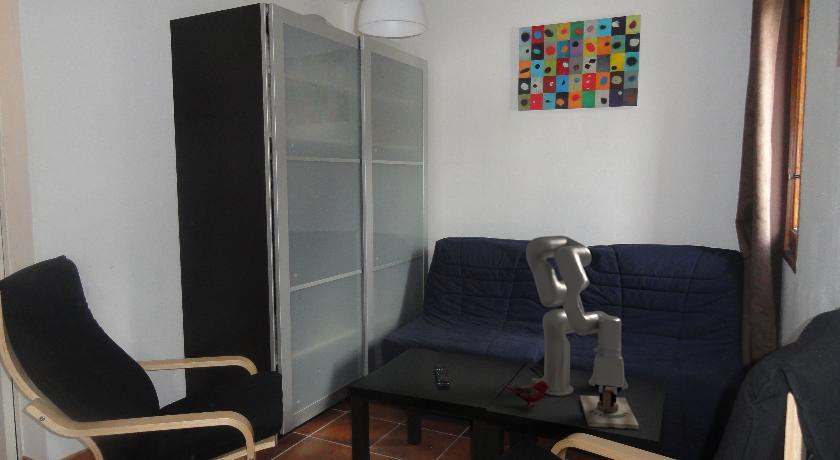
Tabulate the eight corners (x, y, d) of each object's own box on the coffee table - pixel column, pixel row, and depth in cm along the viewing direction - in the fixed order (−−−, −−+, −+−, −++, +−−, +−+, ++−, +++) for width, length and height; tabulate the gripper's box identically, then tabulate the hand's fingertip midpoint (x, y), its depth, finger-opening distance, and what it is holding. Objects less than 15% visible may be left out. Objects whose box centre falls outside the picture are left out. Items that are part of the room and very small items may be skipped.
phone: (546, 365, 257) (562, 376, 243) (546, 367, 258) (562, 379, 243) (529, 366, 256) (544, 377, 241) (529, 368, 256) (544, 380, 241)
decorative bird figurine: (548, 411, 209) (548, 383, 208) (500, 402, 217) (501, 375, 216) (550, 408, 212) (551, 381, 211) (503, 399, 220) (504, 373, 219)
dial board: (588, 426, 197) (588, 421, 196) (580, 399, 220) (580, 394, 220) (638, 429, 194) (638, 424, 194) (624, 401, 218) (625, 397, 218)
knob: (598, 403, 212) (599, 385, 211) (619, 406, 209) (620, 388, 208) (593, 413, 202) (594, 395, 202) (615, 417, 199) (615, 398, 199)
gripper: (584, 352, 204) (582, 404, 206) (634, 357, 199) (632, 410, 200) (585, 346, 211) (584, 397, 213) (634, 351, 206) (632, 402, 207)
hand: (607, 403), depth 207 cm, fingers closed on knob, 2 cm apart
